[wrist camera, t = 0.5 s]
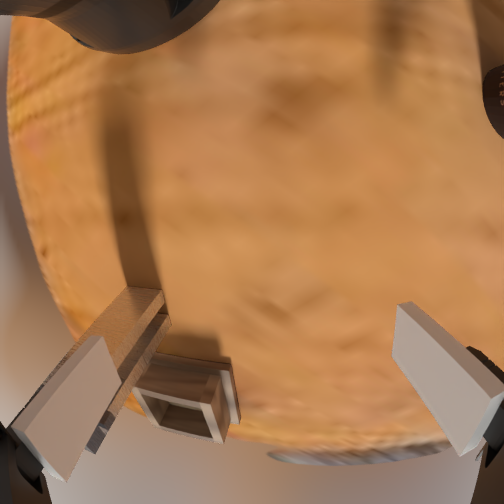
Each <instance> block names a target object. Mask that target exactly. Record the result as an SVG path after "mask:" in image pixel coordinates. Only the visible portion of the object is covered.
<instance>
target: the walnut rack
mask: <svg viewBox="0 0 504 504" xmlns="http://www.w3.org/2000/svg"><path fill="white" fill-rule="evenodd" d="M132 392H133V394H134V396H135V397H136V399H137V401H138V402H139V404H140V406H141V407H142V409H143V411H144V412H145V414H146V415H147V417H148V419H149V420H150V422H151V423H152V425H153V426H154V427H155V428H158V429H162V430H165V431H169V432H173V433H176V434H180V435H184V436H188V437H192V438H197V439H201V440H206V441H211V442H216V443H221V444H224V442H225V438H226V435H227V431H228V428H229V425H230V423H233V424H240V420H241V417H240V411H239V406H238V401H237V395H236V389H235V384H234V378H233V372H232V366H231V364H224V363H217V362H210V361H203V360H196V359H190V358H184V357H178V356H173V355H167V354H162V353H157V352H155V353H154V354H153V356H152V358H151V359H150V361H149V363H148V364H147V366H146V368H145V369H144V371H143V373H142V374H141V376H140V378H139V379H138V381H137V383H136V384H135V386H134V388H133V389H132Z"/></svg>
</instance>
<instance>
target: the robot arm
mask: <svg viewBox="0 0 504 504" xmlns="http://www.w3.org/2000/svg"><path fill="white" fill-rule="evenodd" d="M219 1H220V0H0V15H14V16H28V17H36V18H43V19H47V20H49V21H50V22H52V23H53V24H55V25H57V26H58V27H60V28H61V29H63V30H64V31H66V32H67V33H69V34H70V35H71V36H72V37H73V38H74V39H75V40H76V41H77V42H78V43H80V44H81V45H83V46H85V47H87V48H90V49H93V50H97V51H103V52H108V53H113V54H130V53H136V52H141V51H145V50H148V49H151V48H154V47H156V46H159V45H161V44H163V43H165V42H167V41H169V40H171V39H173V38H175V37H177V36H178V35H180V34H182V33H183V32H185V31H186V30H188V29H189V28H191V27H192V26H193V25H195V24H196V23H197V22H198V21H200V20H201V19H202V18H203V17H204V16H205V15H206V14H208V13H209V12H210V11H211V10H212V9H213V8H214V7H215V5H216V4H217V3H218V2H219ZM391 357H392V358H393V359H394V361H395V362H396V363H397V365H398V366H399V368H400V369H401V370H402V372H403V373H404V375H405V376H406V377H407V379H408V380H409V382H410V383H411V384H412V386H413V387H414V389H415V390H416V392H417V393H418V394H419V396H420V397H421V399H422V400H423V402H424V403H425V405H426V406H427V408H428V409H429V411H430V412H431V414H432V415H433V416H434V418H435V419H436V421H437V423H438V424H439V426H440V427H441V429H442V430H443V432H444V433H445V435H446V436H447V438H448V439H449V441H450V443H451V444H452V446H453V447H454V449H455V450H456V452H457V454H458V455H459V456H462V455H463V454H465V453H467V452H469V451H471V450H472V449H474V448H476V447H477V445H478V443H479V442H480V440H481V439H482V437H484V438H485V439H486V441H487V442H486V443H485V445H484V446H483V448H482V450H481V451H480V452H479V454H478V455H477V457H476V460H475V461H478V460H479V458H480V457H481V456H482V460H481V465H480V470H479V474H478V478H477V482H476V486H475V490H474V493H473V497H472V501H471V504H504V372H503V371H502V370H501V369H500V368H499V367H498V366H495V364H494V363H493V362H492V361H491V360H488V357H487V356H485V355H484V354H483V353H482V352H481V351H479V350H477V349H475V348H473V347H470V346H469V347H466V348H465V347H464V346H463V345H462V344H461V343H460V342H458V341H457V340H456V339H455V338H454V337H453V336H452V335H451V334H449V333H448V332H447V331H446V330H445V329H444V328H443V327H441V326H440V325H439V324H438V323H437V322H436V321H434V320H433V319H432V318H431V317H430V316H429V315H427V314H426V313H425V312H424V311H423V310H421V309H420V308H419V307H418V306H417V305H415V304H414V303H413V302H412V301H411V302H407V303H402V304H398V305H397V313H396V324H395V333H394V341H393V349H392V356H391ZM121 383H122V382H121V380H120V377H119V375H118V373H117V370H116V368H115V366H114V363H113V361H112V358H111V356H110V353H109V351H108V348H107V345H106V343H105V340H104V337H103V336H89V338H88V339H87V340H86V341H85V342H84V343H83V344H82V345H81V346H80V347H79V348H78V349H77V350H76V351H75V352H74V354H73V355H72V356H71V357H70V358H69V359H68V360H67V361H66V362H65V363H64V364H63V366H62V367H61V368H60V369H59V370H58V371H57V372H56V373H55V374H54V376H53V377H52V378H51V379H50V380H49V381H48V382H47V384H46V385H45V386H44V387H43V388H42V389H41V390H39V391H38V392H36V393H35V394H34V396H33V397H32V398H31V399H30V402H28V403H27V404H26V405H25V408H23V409H22V410H21V411H20V412H19V414H18V415H17V416H16V417H15V418H14V420H13V421H12V422H11V423H10V425H9V426H8V427H7V428H6V429H5V427H4V426H3V425H2V423H1V422H0V504H52V502H51V498H50V494H49V491H48V487H47V482H46V478H45V476H44V474H43V473H42V472H41V471H42V469H43V468H45V469H46V470H47V471H48V472H49V474H50V475H51V476H52V477H55V478H57V479H59V480H62V481H65V482H67V480H68V479H69V477H70V475H71V473H72V471H73V469H74V467H75V465H76V463H77V461H78V459H79V457H80V455H81V454H82V452H83V450H84V448H85V446H86V445H87V443H88V441H89V439H90V437H91V435H92V434H93V432H94V430H95V428H96V426H97V425H98V423H99V421H100V419H101V417H102V416H103V414H104V412H105V410H106V409H107V407H108V405H109V403H110V402H111V400H112V398H113V397H114V395H115V393H116V391H117V390H118V388H119V386H120V385H121Z"/></svg>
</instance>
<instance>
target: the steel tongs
mask: <svg viewBox="0 0 504 504" xmlns="http://www.w3.org/2000/svg"><path fill="white" fill-rule="evenodd" d="M164 302H165V300H164V296H163V293H162V290H158V289H148V288H139V287H129V286H127V287H126V288H125V289H124V290H123V291H122V292H121V293H120V294H119V295H118V296H117V297H116V298H115V300H114V301H113V302H112V303H111V304H110V305H109V306H108V307H107V308H106V309H105V310H104V311H103V313H102V314H101V315H100V316H99V317H98V318H97V319H96V320H95V321H94V323H93V324H92V325H91V326H90V327H89V328H88V329H87V330H86V332H85V333H84V334H83V335H82V336H81V337H80V338H79V340H78V341H77V342H76V343H75V344H74V345H73V347H72V348H71V349H70V350H69V351H68V352H67V354H66V355H65V356H64V357H63V359H62V360H61V361H60V362H59V363H58V365H57V366H56V367H55V368H54V370H53V371H52V372H51V373H50V374H49V376H48V377H47V378H46V379H45V381H44V382H43V383H42V385H41V386H40V387H39V388H38V390H37V391H36V392H38V391H39V390H41V389H42V388H43V387H44V386H45V385H46V384H47V382H48V381H49V380H50V379H51V378H52V377H53V376H54V374H55V373H56V372H57V371H58V370H59V369H60V368H61V367H62V366H63V364H64V363H65V362H66V361H67V360H68V359H69V358H70V357H71V356H72V355H73V354H74V352H75V351H76V350H77V349H78V348H79V347H80V346H81V345H82V344H83V343H84V342H85V341H86V340H87V339H88V338H89V336H103V337H104V340H105V343H106V345H107V348H108V351H109V353H110V356H111V358H112V361H113V363H114V366H115V368H116V370H117V373H118V375H119V377H120V380H121V382H122V383H121V385H120V386H119V388H118V390H117V391H116V393H115V395H114V397H113V398H112V400H111V402H110V403H109V405H108V407H107V409H106V410H105V412H104V414H103V416H102V417H101V419H100V421H99V423H98V425H97V426H96V428H95V430H94V432H93V434H92V435H91V437H90V439H89V441H88V443H87V445H86V446H85V448H84V449H86V450H88V451H90V452H92V453H93V454H96V452H97V450H98V448H99V446H100V445H101V443H102V441H103V439H104V438H105V436H106V434H107V432H108V431H109V429H110V427H111V425H112V424H113V422H114V420H115V418H116V416H117V415H118V413H119V411H120V410H121V408H122V406H123V405H124V403H125V401H126V399H127V398H128V396H129V394H130V393H131V391H132V389H133V388H134V386H135V384H136V383H137V381H138V379H139V378H140V376H141V374H142V373H143V371H144V369H145V368H146V366H147V364H148V363H149V361H150V359H151V358H152V356H153V354H154V353H155V351H156V349H157V348H158V346H159V345H160V343H161V341H162V340H163V338H164V336H165V335H166V333H167V332H168V330H169V328H170V327H171V322H170V318H169V315H167V314H159V313H157V312H158V311H159V309H160V308H161V307H162V305H163V304H164ZM36 392H35V393H36ZM33 396H34V395H33ZM33 396H32V397H33ZM32 397H31V398H32ZM29 402H30V400H29Z"/></svg>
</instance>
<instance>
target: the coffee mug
mask: <svg viewBox="0 0 504 504" xmlns="http://www.w3.org/2000/svg"><path fill="white" fill-rule="evenodd" d="M483 101H484V107H485V110H486V114H487V116H488V118H489V121H490V123H491V124H492V126H493V128H494V129H495V131H496V132H497V133H498V134H499V135H500V136H501V137H502V138H503V139H504V65H502V66H499V67H496V68H494V69H492V70H490V71H489V72H488V74H487V75H486V77H485V80H484V83H483Z"/></svg>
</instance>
